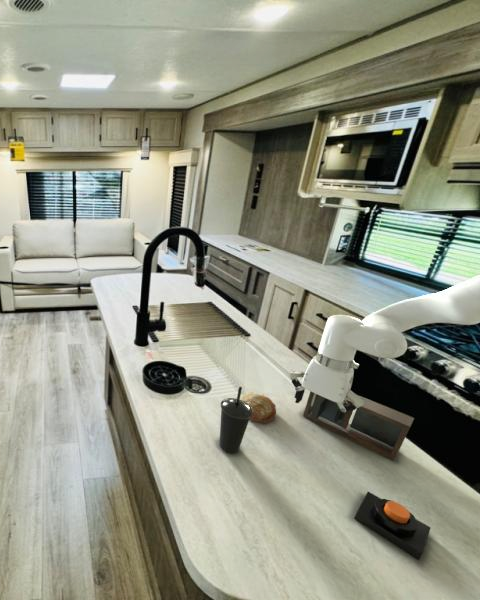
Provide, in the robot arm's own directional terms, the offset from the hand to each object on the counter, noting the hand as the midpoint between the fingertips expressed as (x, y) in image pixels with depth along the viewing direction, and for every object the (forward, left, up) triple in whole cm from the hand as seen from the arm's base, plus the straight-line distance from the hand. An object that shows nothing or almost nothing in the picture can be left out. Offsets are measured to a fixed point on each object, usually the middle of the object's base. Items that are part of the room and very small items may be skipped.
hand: (316, 410), depth 90 cm
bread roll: (+13, +6, -6) cm, 16 cm away
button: (-21, +19, -3) cm, 29 cm away
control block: (-21, +19, -6) cm, 29 cm away
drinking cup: (+11, +26, -6) cm, 29 cm away
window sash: (-2, -2, -4) cm, 5 cm away
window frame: (-7, -6, -6) cm, 11 cm away
